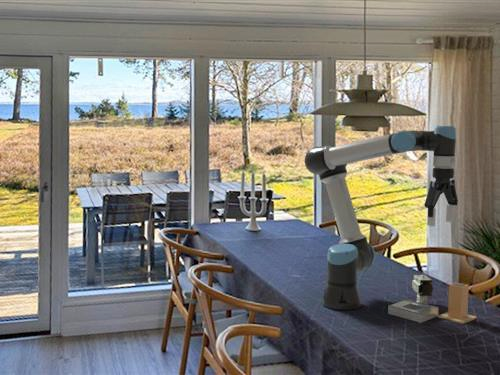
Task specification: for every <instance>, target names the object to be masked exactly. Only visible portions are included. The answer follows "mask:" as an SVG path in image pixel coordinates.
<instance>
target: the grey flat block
mask: <svg viewBox="0 0 500 375" xmlns="http://www.w3.org/2000/svg"><path fill="white" fill-rule="evenodd" d="M439 310H440V309H439V306H435V305H431V304H428V303H427V304H424V303H420V302H417V300H416V301H415V300H412V299H407V298H404V300H401V301H398V302H396V303H392V304H388V308H387V314H388V315H391V316H395V317H399V318H403V319H406V320H409V321H412V322H417V323H419V324H421V323H424V322H426V321H429V320H431V319H434V318H436V317H438V316H439Z"/></svg>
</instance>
